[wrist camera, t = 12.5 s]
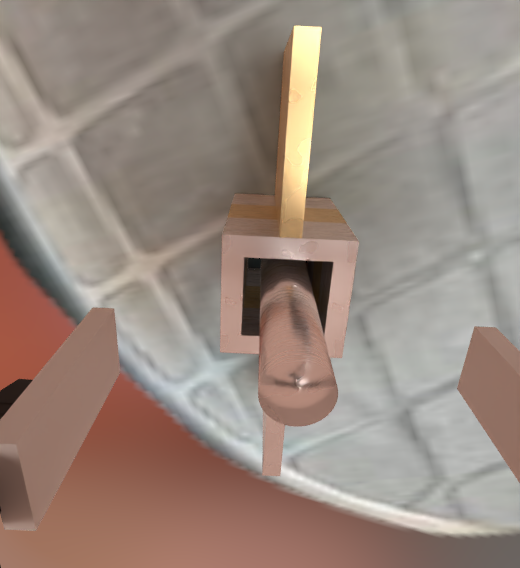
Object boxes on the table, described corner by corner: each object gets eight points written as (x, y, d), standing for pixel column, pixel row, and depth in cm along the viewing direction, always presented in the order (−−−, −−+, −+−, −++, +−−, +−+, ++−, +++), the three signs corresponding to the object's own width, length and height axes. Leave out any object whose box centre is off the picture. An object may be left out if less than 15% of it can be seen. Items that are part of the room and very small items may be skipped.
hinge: (238, 49, 24) (225, 21, 16) (346, 55, 24) (389, 31, 16) (230, 378, 32) (218, 473, 24) (308, 381, 33) (324, 478, 24)
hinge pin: (262, 221, 28) (260, 359, 13) (300, 223, 28) (342, 363, 13) (260, 258, 29) (256, 424, 14) (297, 260, 29) (332, 428, 14)
